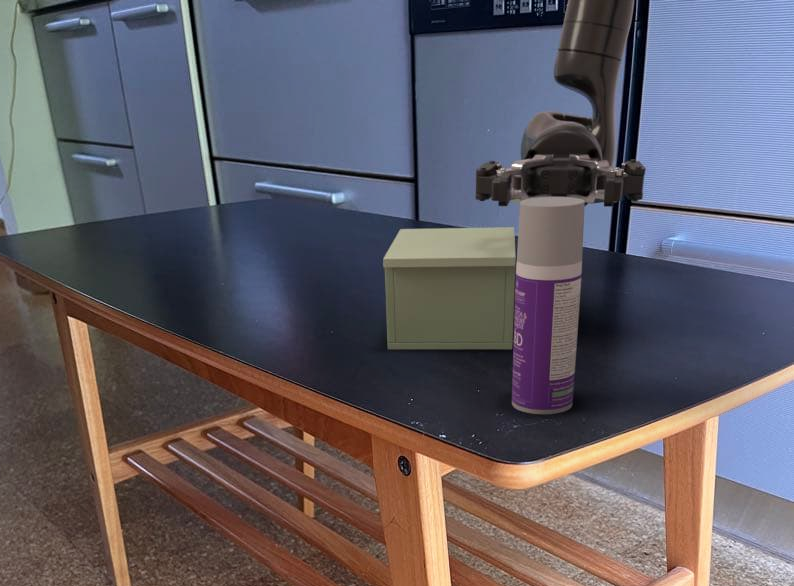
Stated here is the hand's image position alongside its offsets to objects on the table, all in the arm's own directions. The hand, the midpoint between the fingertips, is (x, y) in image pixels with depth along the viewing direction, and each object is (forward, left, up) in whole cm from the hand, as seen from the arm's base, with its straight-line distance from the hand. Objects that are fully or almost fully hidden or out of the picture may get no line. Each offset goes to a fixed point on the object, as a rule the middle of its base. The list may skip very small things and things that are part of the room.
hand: (555, 192), depth 71 cm
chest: (+9, -10, -14) cm, 19 cm away
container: (+1, +11, -14) cm, 18 cm away
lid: (+9, -9, -6) cm, 14 cm away
